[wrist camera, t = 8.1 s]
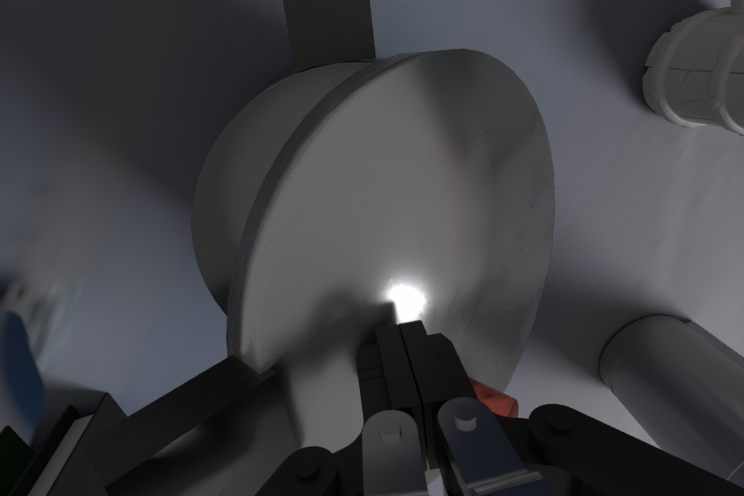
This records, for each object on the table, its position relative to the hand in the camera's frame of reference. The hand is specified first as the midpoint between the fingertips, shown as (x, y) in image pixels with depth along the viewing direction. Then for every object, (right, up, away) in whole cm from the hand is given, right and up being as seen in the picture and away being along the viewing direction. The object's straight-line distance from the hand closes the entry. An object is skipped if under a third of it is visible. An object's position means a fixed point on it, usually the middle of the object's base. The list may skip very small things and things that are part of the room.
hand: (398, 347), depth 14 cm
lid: (0, +1, +3) cm, 3 cm away
